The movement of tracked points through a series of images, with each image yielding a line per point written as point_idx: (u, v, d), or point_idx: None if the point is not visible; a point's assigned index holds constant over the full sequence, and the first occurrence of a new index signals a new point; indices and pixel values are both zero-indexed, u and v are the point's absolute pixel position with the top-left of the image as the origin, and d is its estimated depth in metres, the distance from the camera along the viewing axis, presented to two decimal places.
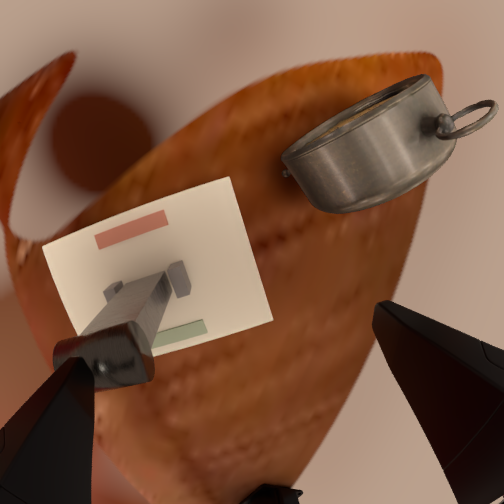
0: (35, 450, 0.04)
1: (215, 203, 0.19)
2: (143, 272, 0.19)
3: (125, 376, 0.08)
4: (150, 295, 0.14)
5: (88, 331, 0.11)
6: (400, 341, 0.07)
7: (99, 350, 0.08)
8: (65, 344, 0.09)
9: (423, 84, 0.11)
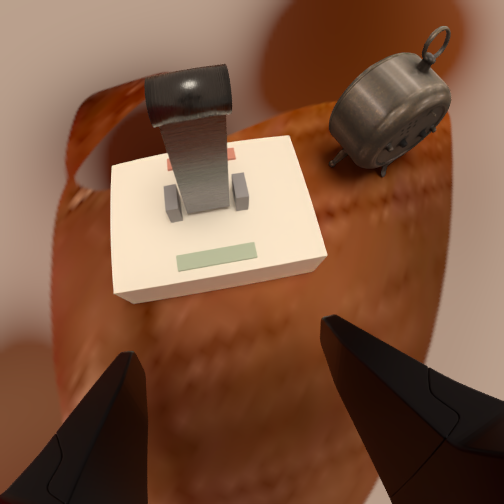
0: (97, 457, 0.04)
1: (277, 150, 0.22)
2: None
3: (216, 74, 0.10)
4: None
5: None
6: (341, 360, 0.07)
7: (199, 67, 0.10)
8: None
9: None
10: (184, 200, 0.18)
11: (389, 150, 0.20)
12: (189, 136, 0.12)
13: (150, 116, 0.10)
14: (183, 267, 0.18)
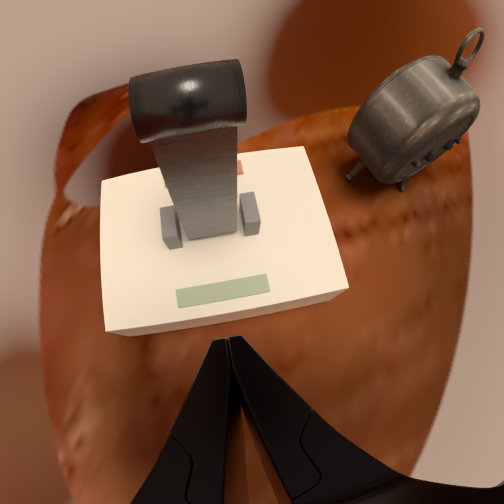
0: None
1: (290, 163, 0.19)
2: None
3: (225, 72, 0.07)
4: None
5: None
6: (236, 385, 0.07)
7: (201, 63, 0.08)
8: None
9: (442, 57, 0.14)
10: (184, 226, 0.15)
11: (416, 165, 0.17)
12: (190, 154, 0.10)
13: (136, 129, 0.08)
14: (184, 303, 0.16)
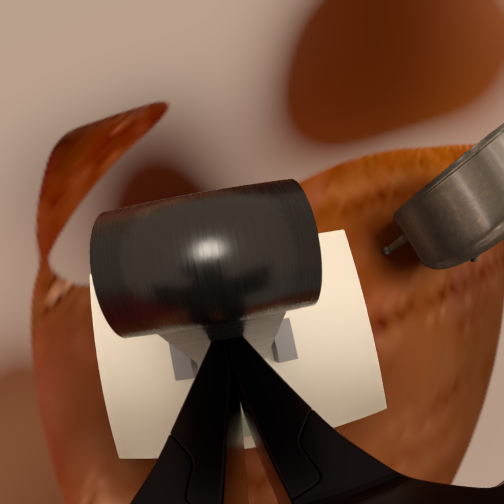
0: None
1: (328, 256, 0.15)
2: None
3: (283, 226, 0.04)
4: None
5: None
6: (236, 385, 0.07)
7: (229, 188, 0.05)
8: None
9: None
10: None
11: (473, 260, 0.13)
12: (211, 328, 0.06)
13: (118, 332, 0.04)
14: None
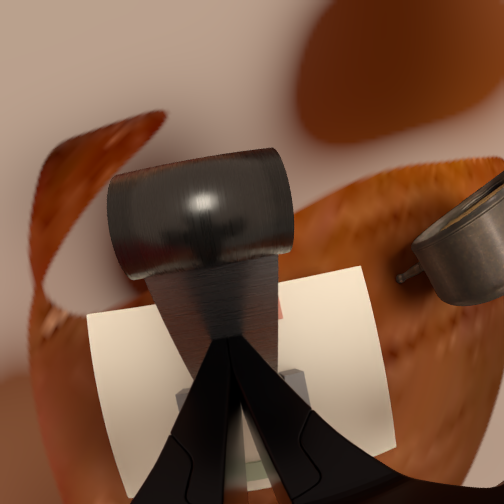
0: None
1: (344, 297, 0.14)
2: None
3: (255, 161, 0.05)
4: None
5: None
6: (236, 385, 0.07)
7: None
8: None
9: None
10: None
11: None
12: (207, 302, 0.07)
13: (118, 253, 0.05)
14: None
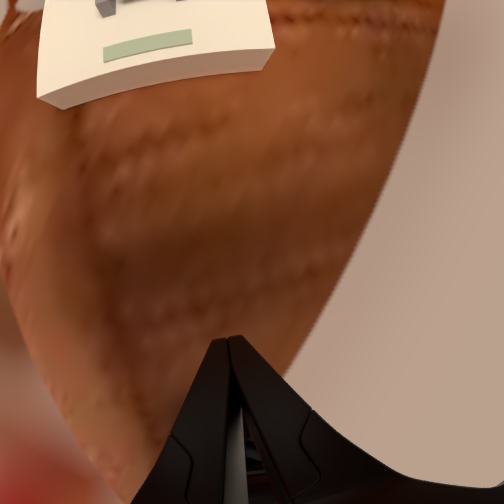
0: None
1: None
2: None
3: None
4: None
5: None
6: (236, 385, 0.07)
7: None
8: None
9: None
10: None
11: None
12: None
13: None
14: (109, 58, 0.12)
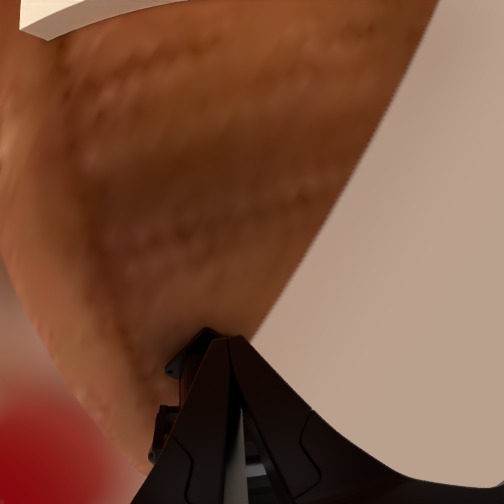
0: None
1: None
2: None
3: None
4: None
5: None
6: (236, 385, 0.07)
7: None
8: None
9: None
10: None
11: None
12: None
13: None
14: None
